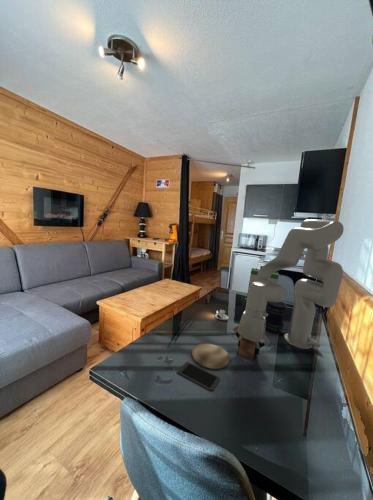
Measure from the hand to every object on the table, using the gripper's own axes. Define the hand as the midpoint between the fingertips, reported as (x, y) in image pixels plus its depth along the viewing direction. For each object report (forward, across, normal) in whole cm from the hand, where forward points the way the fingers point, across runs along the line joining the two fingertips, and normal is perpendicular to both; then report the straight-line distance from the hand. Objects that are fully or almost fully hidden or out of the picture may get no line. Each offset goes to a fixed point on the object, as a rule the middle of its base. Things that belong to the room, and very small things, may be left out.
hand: (247, 351), depth 92 cm
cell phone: (+2, +9, +26) cm, 27 cm away
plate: (+1, +11, +13) cm, 17 cm away
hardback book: (+1, +13, -65) cm, 66 cm away
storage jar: (+1, -3, -32) cm, 32 cm away
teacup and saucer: (+2, +24, -22) cm, 33 cm away
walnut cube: (+1, 0, 0) cm, 1 cm away
